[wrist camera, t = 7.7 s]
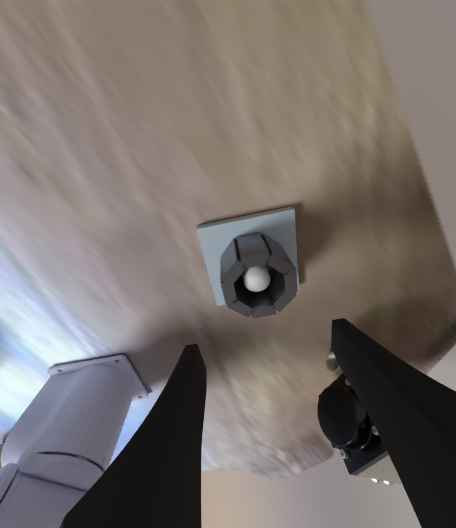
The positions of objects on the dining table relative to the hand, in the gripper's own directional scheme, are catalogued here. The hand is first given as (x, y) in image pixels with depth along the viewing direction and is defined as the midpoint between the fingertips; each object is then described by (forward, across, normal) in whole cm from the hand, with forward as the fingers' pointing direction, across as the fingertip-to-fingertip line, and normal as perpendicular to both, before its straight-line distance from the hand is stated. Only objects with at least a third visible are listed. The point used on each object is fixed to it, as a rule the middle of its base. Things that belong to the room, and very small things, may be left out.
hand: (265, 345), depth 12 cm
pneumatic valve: (+10, -10, +16) cm, 21 cm away
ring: (+9, -1, 0) cm, 9 cm away
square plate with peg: (+10, 0, 0) cm, 10 cm away
